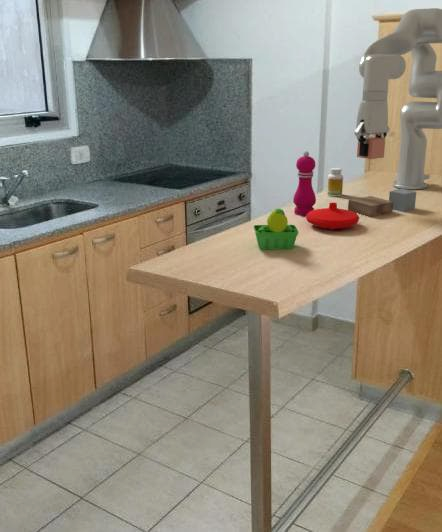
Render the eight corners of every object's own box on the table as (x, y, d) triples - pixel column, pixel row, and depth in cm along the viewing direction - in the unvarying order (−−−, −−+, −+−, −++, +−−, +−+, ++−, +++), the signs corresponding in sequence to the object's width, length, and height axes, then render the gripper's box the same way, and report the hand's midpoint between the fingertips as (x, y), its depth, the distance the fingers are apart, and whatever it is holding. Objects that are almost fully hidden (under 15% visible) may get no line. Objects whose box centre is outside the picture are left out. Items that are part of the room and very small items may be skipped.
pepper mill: (289, 214, 193) (291, 152, 186) (297, 209, 199) (299, 149, 192) (310, 217, 190) (313, 153, 183) (318, 212, 196) (321, 150, 189)
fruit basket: (294, 241, 165) (295, 201, 162) (299, 251, 157) (300, 209, 153) (252, 242, 165) (253, 202, 161) (255, 252, 157) (256, 210, 153)
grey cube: (399, 206, 202) (401, 188, 200) (414, 209, 198) (416, 191, 196) (388, 208, 199) (389, 191, 197) (403, 212, 195) (404, 194, 193)
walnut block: (370, 207, 202) (370, 196, 201) (392, 213, 194) (393, 201, 193) (347, 211, 197) (348, 199, 196) (369, 218, 189) (370, 206, 188)
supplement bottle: (343, 196, 216) (344, 169, 213) (328, 196, 216) (329, 170, 213) (340, 193, 221) (342, 167, 218) (326, 193, 221) (327, 167, 218)
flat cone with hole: (365, 223, 183) (367, 200, 180) (348, 236, 170) (350, 212, 168) (317, 217, 190) (318, 195, 188) (297, 229, 177) (297, 205, 175)
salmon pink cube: (369, 155, 197) (370, 136, 195) (383, 157, 193) (385, 138, 191) (356, 156, 194) (358, 138, 192) (371, 159, 189) (372, 140, 187)
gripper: (383, 95, 195) (379, 151, 201) (346, 97, 185) (343, 156, 191) (402, 96, 189) (397, 153, 195) (365, 98, 179) (361, 159, 185)
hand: (370, 154), depth 193 cm, fingers closed on salmon pink cube, 6 cm apart
